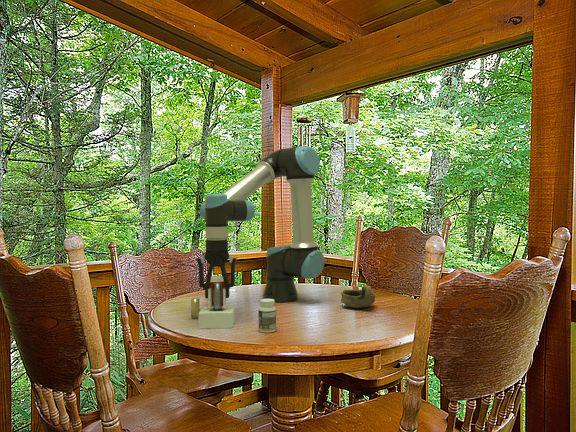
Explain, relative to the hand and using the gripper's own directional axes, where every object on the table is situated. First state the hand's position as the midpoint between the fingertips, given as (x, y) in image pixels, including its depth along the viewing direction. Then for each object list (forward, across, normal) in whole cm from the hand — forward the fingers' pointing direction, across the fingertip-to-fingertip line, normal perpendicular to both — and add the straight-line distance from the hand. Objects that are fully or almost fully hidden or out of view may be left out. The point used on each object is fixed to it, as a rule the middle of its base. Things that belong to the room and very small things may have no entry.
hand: (217, 307), depth 156 cm
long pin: (+6, 0, 0) cm, 6 cm away
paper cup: (+6, +2, -16) cm, 17 cm away
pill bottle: (+6, -17, +9) cm, 20 cm away
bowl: (+6, -53, -22) cm, 58 cm away
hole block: (+6, 0, 0) cm, 6 cm away
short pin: (+6, +9, -9) cm, 14 cm away
